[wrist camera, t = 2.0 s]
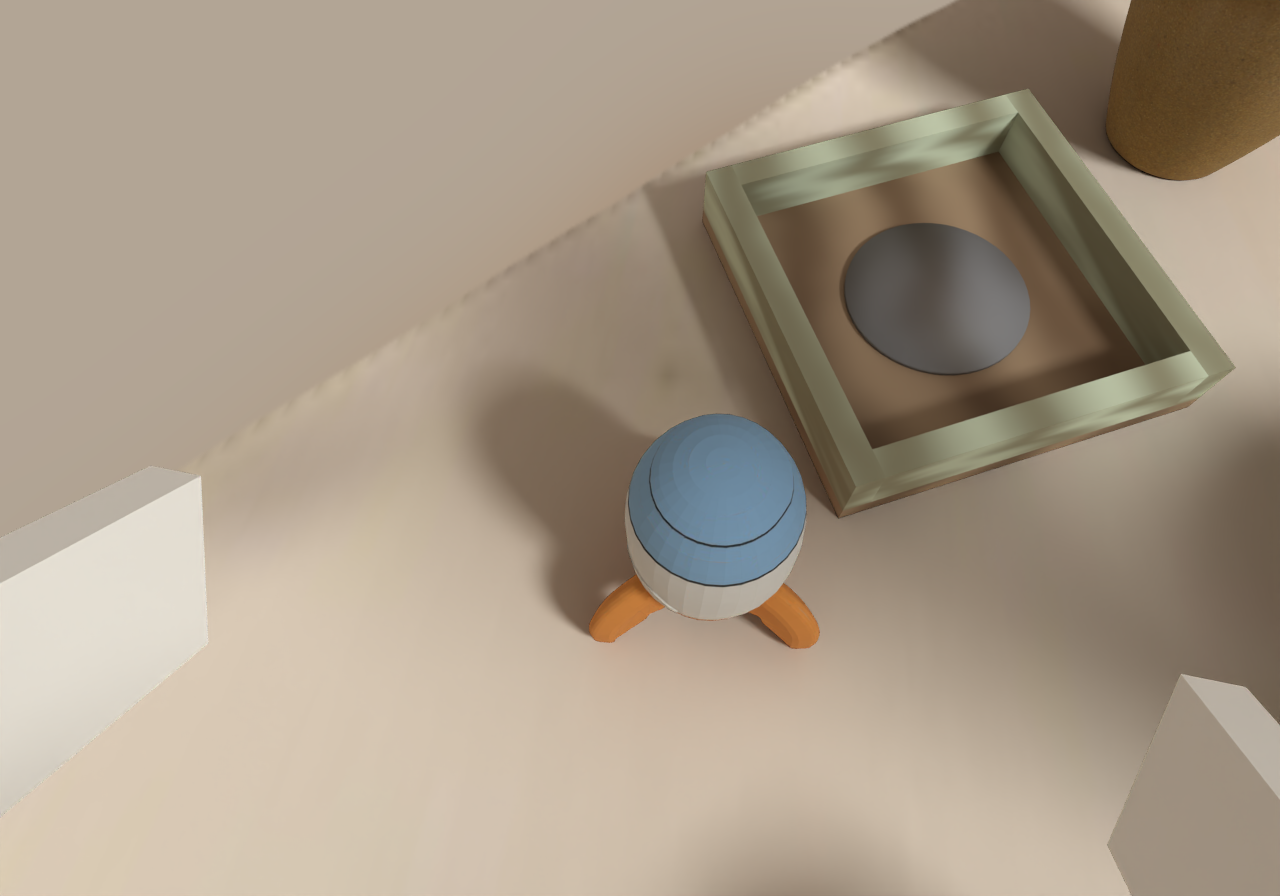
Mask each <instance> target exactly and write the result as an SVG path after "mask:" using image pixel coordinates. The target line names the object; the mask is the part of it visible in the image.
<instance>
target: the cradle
mask: <svg viewBox="0 0 1280 896" xmlns="http://www.w3.org/2000/svg"><path fill="white" fill-rule="evenodd" d="M702 221H703V223H704V225H705V228H706V230H707V232H708V234H709V236H710V239H711V241H712V243H713V245H714V247H715V250H716V252H717V254H718V256H719V258H720V260H721V263H722V265H723V267H724V269H725V271H726V274H727V276H728V278H729V280H730V282H731V284H732V287H733V289H734V291H735V293H736V295H737V298H738V300H739V302H740V304H741V306H742V309H743V311H744V313H745V315H746V317H747V319H748V322H749V324H750V326H751V328H752V330H753V333H754V335H755V337H756V339H757V341H758V344H759V346H760V348H761V350H762V352H763V354H764V357H765V359H766V361H767V363H768V365H769V368H770V370H771V372H772V374H773V376H774V379H775V381H776V383H777V385H778V387H779V389H780V392H781V394H782V396H783V398H784V400H785V403H786V405H787V407H788V409H789V411H790V413H791V416H792V418H793V420H794V422H795V424H796V427H797V429H798V431H799V433H800V435H801V438H802V440H803V442H804V444H805V446H806V448H807V451H808V453H809V455H810V457H811V459H812V462H813V464H814V466H815V468H816V470H817V473H818V475H819V477H820V479H821V481H822V483H823V486H824V488H825V490H826V492H827V494H828V497H829V499H830V501H831V503H832V505H833V508H834V510H835V512H836V514H837V516H838V518H841V517H844V516H847V515H850V514H854V513H857V512H860V511H863V510H866V509H869V508H872V507H876V506H879V505H882V504H885V503H888V502H891V501H894V500H897V499H901V498H904V497H907V496H910V495H913V494H916V493H919V492H923V491H926V490H929V489H932V488H935V487H938V486H941V485H945V484H948V483H951V482H954V481H957V480H960V479H963V478H967V477H970V476H973V475H976V474H979V473H982V472H985V471H988V470H992V469H995V468H998V467H1001V466H1004V465H1007V464H1010V463H1014V462H1017V461H1020V460H1023V459H1026V458H1029V457H1032V456H1036V455H1039V454H1042V453H1045V452H1048V451H1051V450H1054V449H1057V448H1061V447H1064V446H1067V445H1070V444H1073V443H1076V442H1079V441H1083V440H1086V439H1089V438H1092V437H1095V436H1098V435H1101V434H1105V433H1108V432H1111V431H1114V430H1117V429H1120V428H1123V427H1126V426H1130V425H1133V424H1136V423H1139V422H1142V421H1145V420H1148V419H1152V418H1155V417H1158V416H1161V415H1164V414H1167V413H1170V412H1174V411H1177V410H1180V409H1183V408H1186V407H1188V406H1190V405H1191V404H1192V403H1193V402H1194V401H1196V400H1197V399H1198V398H1199V397H1200V396H1202V395H1203V394H1204V393H1205V392H1207V391H1208V390H1209V389H1210V388H1211V387H1213V386H1214V385H1215V384H1216V383H1217V382H1219V381H1220V380H1221V379H1222V378H1224V377H1225V376H1226V375H1227V374H1228V373H1230V372H1231V371H1232V370H1233V369H1234V368H1236V367H1235V366H1234V365H1233V363H1232V362H1231V361H1230V359H1229V358H1228V357H1227V355H1226V354H1225V353H1224V351H1223V350H1222V349H1221V347H1220V346H1219V345H1218V343H1217V342H1216V340H1215V339H1214V338H1213V336H1212V335H1211V334H1210V332H1209V331H1208V330H1207V328H1206V327H1205V326H1204V324H1203V323H1202V322H1201V320H1200V319H1199V318H1198V316H1197V315H1196V314H1195V312H1194V311H1193V310H1192V308H1191V307H1190V305H1189V304H1188V303H1187V301H1186V300H1185V299H1184V297H1183V296H1182V295H1181V293H1180V292H1179V291H1178V289H1177V288H1176V287H1175V285H1174V284H1173V283H1172V281H1171V280H1170V279H1169V277H1168V276H1167V275H1166V273H1165V272H1164V270H1163V269H1162V268H1161V266H1160V265H1159V264H1158V262H1157V261H1156V260H1155V258H1154V257H1153V256H1152V254H1151V253H1150V252H1149V250H1148V249H1147V248H1146V246H1145V245H1144V244H1143V242H1142V241H1141V240H1140V238H1139V237H1138V235H1137V234H1136V233H1135V231H1134V230H1133V229H1132V227H1131V226H1130V225H1129V223H1128V222H1127V221H1126V219H1125V218H1124V217H1123V215H1122V214H1121V213H1120V211H1119V210H1118V209H1117V207H1116V206H1115V205H1114V203H1113V202H1112V200H1111V199H1110V198H1109V196H1108V195H1107V194H1106V192H1105V191H1104V190H1103V188H1102V187H1101V186H1100V184H1099V183H1098V182H1097V180H1096V179H1095V178H1094V176H1093V175H1092V174H1091V172H1090V171H1089V170H1088V168H1087V167H1086V166H1085V164H1084V163H1083V161H1082V160H1081V159H1080V157H1079V156H1078V155H1077V153H1076V152H1075V151H1074V149H1073V148H1072V147H1071V145H1070V144H1069V143H1068V141H1067V140H1066V139H1065V137H1064V136H1063V135H1062V133H1061V132H1060V131H1059V129H1058V128H1057V126H1056V125H1055V124H1054V122H1053V121H1052V120H1051V118H1050V117H1049V116H1048V114H1047V113H1046V112H1045V110H1044V109H1043V108H1042V106H1041V105H1040V104H1039V102H1038V101H1037V100H1036V98H1035V97H1034V96H1033V94H1032V93H1031V91H1030V90H1029V89H1025V90H1021V91H1017V92H1013V93H1009V94H1005V95H1002V96H998V97H994V98H990V99H986V100H982V101H978V102H974V103H971V104H967V105H963V106H959V107H955V108H951V109H947V110H944V111H940V112H936V113H932V114H928V115H924V116H920V117H916V118H913V119H909V120H905V121H901V122H897V123H893V124H889V125H886V126H882V127H878V128H874V129H870V130H866V131H862V132H858V133H855V134H851V135H847V136H843V137H839V138H835V139H831V140H828V141H824V142H820V143H816V144H812V145H808V146H804V147H800V148H797V149H793V150H789V151H785V152H781V153H777V154H773V155H770V156H766V157H762V158H758V159H754V160H750V161H746V162H742V163H739V164H735V165H731V166H727V167H723V168H719V169H715V170H712V171H708V172H706V181H705V194H704V206H703V219H702Z"/></svg>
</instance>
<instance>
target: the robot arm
mask: <svg viewBox="0 0 1280 896" xmlns="http://www.w3.org/2000/svg"><path fill="white" fill-rule="evenodd" d="M207 644H208V624H207V602H206V579H205V556H204V534H203V511H202V488H201V476H200V475H195V474H190V473H185V472H180V471H175V470H170V469H165V468H160V467H155V466H149V467H147V468H145V469H143V470H141V471H138V472H136V473H134V474H132V475H130V476H128V477H126V478H124V479H122V480H119V481H117V482H115V483H113V484H111V485H109V486H107V487H105V488H103V489H101V490H99V491H97V492H94V493H92V494H90V495H88V496H86V497H84V498H82V499H80V500H78V501H75V502H73V503H71V504H69V505H67V506H65V507H63V508H61V509H59V510H57V511H55V512H52V513H50V514H48V515H46V516H44V517H42V518H40V519H38V520H36V521H34V522H31V523H29V524H27V525H25V526H23V527H21V528H19V529H17V530H15V531H13V532H11V533H8V534H6V535H4V536H2V537H0V817H1V816H3V815H4V814H5V813H6V812H7V811H8V810H10V809H11V808H12V807H13V806H14V805H16V804H17V803H18V802H19V801H20V800H22V799H23V798H24V797H25V796H26V795H28V794H29V793H30V792H31V791H32V790H34V789H35V788H36V787H37V786H38V785H40V784H41V783H42V782H43V781H44V780H46V779H47V778H48V777H49V776H50V775H52V774H53V773H54V772H55V771H56V770H58V769H59V768H60V767H61V766H62V765H63V764H65V763H66V762H67V761H68V760H69V759H71V758H72V757H73V756H74V755H75V754H77V753H78V752H79V751H80V750H81V749H83V748H84V747H85V746H86V745H87V744H89V743H90V742H91V741H92V740H93V739H95V738H96V737H97V736H98V735H99V734H101V733H102V732H103V731H104V730H105V729H107V728H108V727H109V726H110V725H111V724H113V723H114V722H115V721H116V720H117V719H118V718H120V717H121V716H122V715H123V714H124V713H126V712H127V711H128V710H129V709H130V708H132V707H133V706H134V705H135V704H136V703H138V702H139V701H140V700H141V699H142V698H144V697H145V696H146V695H147V694H148V693H150V692H151V691H152V690H153V689H154V688H156V687H157V686H158V685H159V684H160V683H162V682H163V681H164V680H165V679H166V678H167V677H169V676H170V675H171V674H172V673H173V672H175V671H176V670H177V669H178V668H179V667H181V666H182V665H183V664H184V663H185V662H187V661H188V660H189V659H190V658H191V657H193V656H194V655H195V654H196V653H197V652H199V651H200V650H201V649H202V648H203V647H205V646H206V645H207ZM1107 845H1108V848H1109V850H1110V852H1111V854H1112V856H1113V858H1114V860H1115V862H1116V864H1117V866H1118V868H1119V870H1120V872H1121V875H1122V877H1123V879H1124V881H1125V883H1126V885H1127V887H1128V889H1129V891H1130V893H1131V895H1132V896H1280V725H1279V724H1278V722H1277V721H1276V720H1275V719H1274V718H1273V717H1272V716H1271V715H1270V713H1269V712H1268V711H1267V710H1266V709H1265V708H1264V707H1263V706H1262V705H1261V703H1260V702H1259V701H1258V700H1257V699H1256V698H1255V697H1254V696H1253V694H1252V693H1251V692H1250V691H1249V690H1248V689H1247V688H1246V687H1244V686H1239V685H1234V684H1229V683H1224V682H1219V681H1214V680H1209V679H1204V678H1199V677H1194V676H1189V675H1184V674H1180V676H1179V679H1178V681H1177V683H1176V686H1175V688H1174V690H1173V693H1172V695H1171V697H1170V700H1169V702H1168V704H1167V707H1166V709H1165V711H1164V714H1163V716H1162V718H1161V721H1160V723H1159V725H1158V728H1157V730H1156V732H1155V735H1154V737H1153V739H1152V742H1151V744H1150V746H1149V749H1148V751H1147V753H1146V756H1145V758H1144V760H1143V763H1142V765H1141V767H1140V770H1139V772H1138V774H1137V777H1136V779H1135V781H1134V784H1133V786H1132V788H1131V791H1130V793H1129V795H1128V798H1127V800H1126V802H1125V805H1124V807H1123V809H1122V812H1121V814H1120V816H1119V819H1118V821H1117V823H1116V826H1115V828H1114V830H1113V833H1112V835H1111V837H1110V840H1109V842H1108V844H1107Z"/></svg>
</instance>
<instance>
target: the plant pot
mask: <svg viewBox="0 0 1280 896" xmlns="http://www.w3.org/2000/svg"><path fill="white" fill-rule="evenodd" d="M1106 132H1107V136H1108V138H1109V140H1110V142H1111V144H1112V146H1113V147H1114V149H1115V150H1116V151H1117V152H1118V153H1119V154H1120V155H1121V156H1122V157H1123V158H1124V159H1125V160H1126V161H1127V162H1129V163H1130V164H1131V165H1133V166H1135V167H1136V168H1138V169H1140V170H1142V171H1144V172H1146V173H1149V174H1152V175H1154V176H1158V177H1161V178H1166V179H1172V180H1191V179H1198V178H1202V177H1205V176H1207V175H1210V174H1212V173H1213V172H1215V171H1217V170H1219V169H1221V168H1223V167H1225V166H1227V165H1228V164H1230V163H1232V162H1234V161H1236V160H1237V159H1239V158H1241V157H1243V156H1245V155H1246V154H1248V153H1250V152H1252V151H1253V150H1255V149H1257V148H1259V147H1260V146H1262V145H1264V144H1265V143H1267V142H1269V141H1270V140H1272V139H1274V138H1275V137H1277V136H1279V135H1280V0H1131V4H1130V7H1129V11H1128V14H1127V18H1126V21H1125V25H1124V29H1123V33H1122V37H1121V41H1120V45H1119V49H1118V54H1117V58H1116V63H1115V68H1114V73H1113V78H1112V84H1111V90H1110V96H1109V103H1108V109H1107V117H1106Z"/></svg>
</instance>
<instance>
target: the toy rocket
mask: <svg viewBox="0 0 1280 896" xmlns="http://www.w3.org/2000/svg"><path fill="white" fill-rule="evenodd" d="M805 526H806V495H805V491H804V486H803V482H802V478H801V475H800V473H799V470H798V468H797V466H796V464H795V462H794V460H793V459H792V457H791V456H790V454H789V453H788V451H787V450H786V449H785V447H784V446H783V445H782V443H781V442H780V441H779V440H777V439H776V438H775V437H774V436H773V435H772V434H771V433H770V432H769V431H768V430H766V429H765V428H763V427H761V426H760V425H758V424H757V423H755V422H753V421H750V420H748V419H745V418H743V417H739V416H734V415H730V414H710V415H702V416H699V417H696V418H692V419H689V420H687V421H684V422H682V423H680V424H678V425H676V426H675V427H673V428H671V429H670V430H668V431H667V432H666V433H664V434H663V435H662V436H661V437H659V438H658V439H657V440H655V441H654V443H653V444H652V445H651V446H650V447H649V449H648V450H647V451H646V452H645V453H644V455H643V456H642V458H641V459H640V461H639V463H638V465H637V467H636V469H635V471H634V473H633V475H632V478H631V482H630V485H629V489H628V492H627V497H626V504H625V527H626V534H627V548H628V553H629V556H630V559H631V562H632V564H633V567H634V570H635V572H636V575H635V576H633V577H632V578H630V579H629V580H628V581H626V582H625V583H624V584H622V585H621V586H620V587H618V588H617V589H616V590H615V591H613V592H612V593H611V594H610V595H609V596H608V597H607V598H606V599H605V600H604V601H603V602H602V604H601V605H600V606H599V608H598V609H597V611H596V613H595V614H594V616H593V618H592V619H591V621H590V624H589V632H590V634H591V636H592V637H593V638H594V640H596V641H599V642H609V643H610V642H614V641H615V639H616V638H617V637H619V636H620V635H622V634H623V633H625V632H626V631H628V630H629V629H631V628H632V627H634V626H635V625H637V624H638V623H640V622H641V621H643V620H644V619H646V618H647V616H648V615H649V614H650V613H652V612H655V611H657V610H660V609H662V608H664V607H666V608H667V609H669V610H671V611H673V612H676V613H679V614H681V615H683V616H685V617H689V618H693V619H697V620H709V621H714V620H722V619H728V618H732V617H735V616H738V615H742V614H745V613H747V612H750V613H752V614H754V615H756V616H758V617H760V618H761V620H762V623H763V624H764V625H766V626H767V627H768V628H769V629H770V630H772V631H773V632H774V633H775V634H776V635H777V636H778V637H779V638H781V639H782V640H783V641H784V642H785V643H786V644H787V645H789V646H790V647H791V648H795V649H797V648H809V647H811V646H812V645H814V644H815V643H816V642H817V640H818V637H819V633H820V631H819V627H818V624H817V622H816V620H815V618H814V616H813V615H812V613H811V612H810V610H809V609H808V607H807V606H806V604H805V603H804V602H803V601H802V600H801V598H800V597H799V596H798V595H797V594H796V593H795V592H794V591H792V590H791V589H790V588H789V587H788V586H787V585H785V584H784V581H785V580H786V579H787V577H788V576H789V574H790V572H791V570H792V568H793V566H794V564H795V561H796V559H797V557H798V554H799V552H800V549H801V547H802V542H803V537H804V532H805Z"/></svg>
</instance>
